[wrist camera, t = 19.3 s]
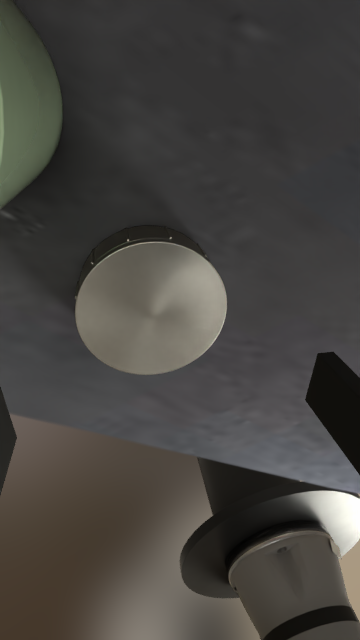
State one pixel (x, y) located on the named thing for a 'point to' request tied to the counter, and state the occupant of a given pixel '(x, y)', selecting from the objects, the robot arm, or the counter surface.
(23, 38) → the flask
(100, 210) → the counter surface
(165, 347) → the flask lid
